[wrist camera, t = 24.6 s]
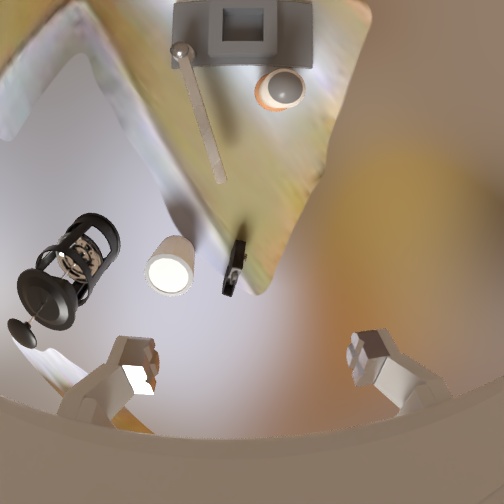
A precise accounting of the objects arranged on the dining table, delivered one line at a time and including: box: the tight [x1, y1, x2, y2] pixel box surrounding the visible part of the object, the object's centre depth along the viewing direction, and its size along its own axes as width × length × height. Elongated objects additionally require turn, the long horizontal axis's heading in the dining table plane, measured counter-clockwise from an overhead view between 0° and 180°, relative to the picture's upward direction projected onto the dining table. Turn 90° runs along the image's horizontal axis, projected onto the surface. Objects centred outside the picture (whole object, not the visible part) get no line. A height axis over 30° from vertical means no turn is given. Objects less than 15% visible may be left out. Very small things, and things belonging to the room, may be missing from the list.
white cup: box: [144, 236, 195, 296], centre depth 41 cm, size 7×7×7 cm
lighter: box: [222, 240, 247, 297], centre depth 43 cm, size 9×2×6 cm
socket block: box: [172, 0, 313, 69], centre depth 27 cm, size 18×10×4 cm, turn 89°
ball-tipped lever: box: [170, 41, 227, 184], centre depth 30 cm, size 18×2×2 cm, turn 15°
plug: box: [255, 69, 306, 111], centre depth 28 cm, size 5×5×12 cm
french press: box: [8, 213, 120, 349], centre depth 32 cm, size 12×9×23 cm
